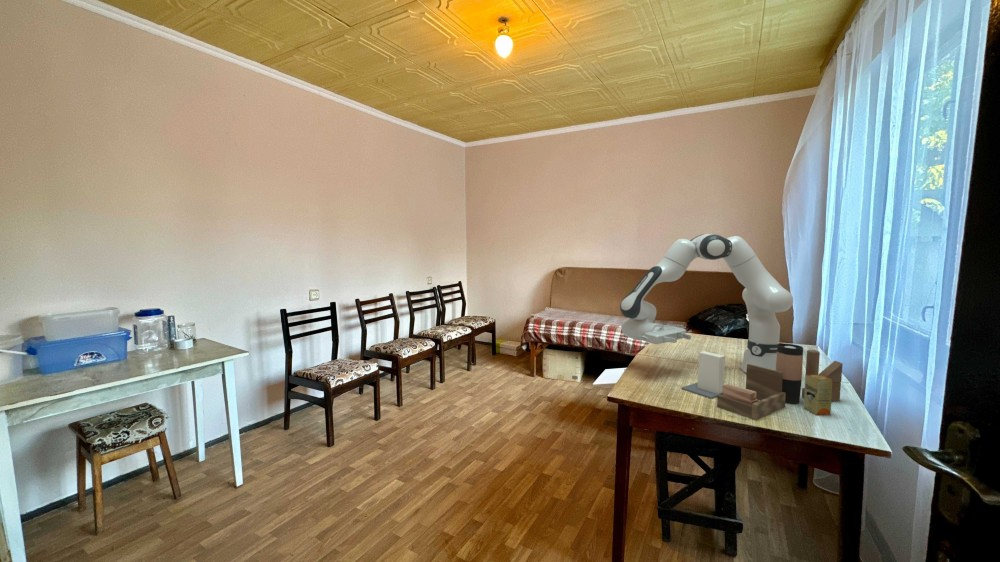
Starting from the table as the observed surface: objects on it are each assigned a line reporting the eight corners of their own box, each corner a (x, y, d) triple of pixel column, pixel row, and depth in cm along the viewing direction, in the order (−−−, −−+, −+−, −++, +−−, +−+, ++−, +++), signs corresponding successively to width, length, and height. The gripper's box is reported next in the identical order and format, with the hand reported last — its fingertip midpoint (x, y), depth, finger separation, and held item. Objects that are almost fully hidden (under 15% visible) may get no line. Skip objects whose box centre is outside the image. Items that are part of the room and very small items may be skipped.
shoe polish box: (815, 415, 128) (818, 379, 127) (803, 409, 133) (805, 374, 132) (830, 415, 128) (832, 379, 127) (817, 408, 133) (819, 374, 132)
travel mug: (769, 396, 145) (772, 343, 143) (790, 396, 145) (793, 343, 143) (783, 404, 137) (786, 348, 135) (805, 404, 137) (809, 348, 135)
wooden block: (840, 402, 139) (843, 352, 138) (808, 401, 140) (811, 352, 138) (832, 398, 143) (835, 350, 141) (801, 397, 144) (804, 349, 142)
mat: (702, 382, 160) (702, 380, 160) (732, 391, 150) (732, 390, 149) (681, 388, 153) (681, 387, 153) (711, 398, 142) (711, 397, 142)
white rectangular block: (702, 385, 154) (704, 351, 153) (723, 392, 147) (724, 356, 146) (697, 387, 152) (699, 352, 151) (718, 394, 145) (719, 357, 144)
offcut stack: (727, 404, 138) (728, 383, 137) (757, 414, 129) (758, 392, 129) (720, 406, 136) (721, 385, 135) (751, 417, 127) (752, 394, 127)
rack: (747, 395, 146) (748, 364, 145) (784, 406, 135) (786, 373, 134) (717, 406, 136) (718, 373, 134) (755, 420, 125) (757, 383, 124)
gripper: (638, 329, 165) (666, 335, 153) (668, 323, 176) (697, 328, 164) (638, 343, 166) (666, 350, 154) (668, 336, 176) (697, 342, 164)
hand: (683, 339), depth 159 cm, fingers open, 8 cm apart
